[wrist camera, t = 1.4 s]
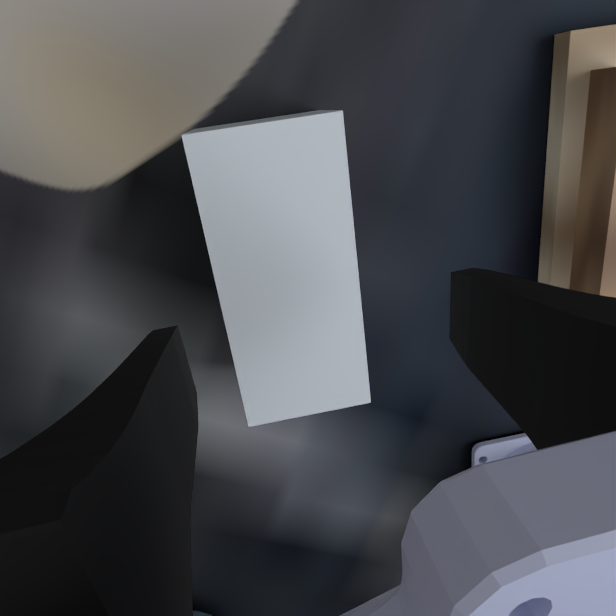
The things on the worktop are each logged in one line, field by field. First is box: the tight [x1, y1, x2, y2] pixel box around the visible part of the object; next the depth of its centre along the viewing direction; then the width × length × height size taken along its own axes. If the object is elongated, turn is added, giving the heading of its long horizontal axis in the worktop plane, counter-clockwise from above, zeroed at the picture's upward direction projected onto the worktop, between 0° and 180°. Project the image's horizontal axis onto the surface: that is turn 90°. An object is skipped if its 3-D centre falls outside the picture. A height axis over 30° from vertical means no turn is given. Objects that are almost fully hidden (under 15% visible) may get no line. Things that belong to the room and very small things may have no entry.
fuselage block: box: [182, 110, 371, 427], centre depth 19 cm, size 11×5×5 cm, turn 8°
